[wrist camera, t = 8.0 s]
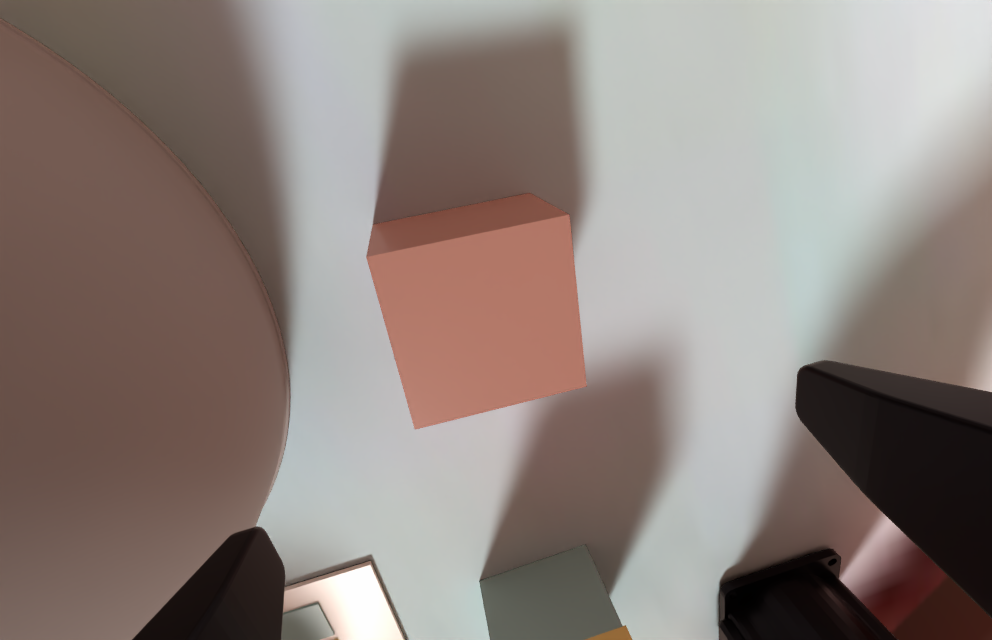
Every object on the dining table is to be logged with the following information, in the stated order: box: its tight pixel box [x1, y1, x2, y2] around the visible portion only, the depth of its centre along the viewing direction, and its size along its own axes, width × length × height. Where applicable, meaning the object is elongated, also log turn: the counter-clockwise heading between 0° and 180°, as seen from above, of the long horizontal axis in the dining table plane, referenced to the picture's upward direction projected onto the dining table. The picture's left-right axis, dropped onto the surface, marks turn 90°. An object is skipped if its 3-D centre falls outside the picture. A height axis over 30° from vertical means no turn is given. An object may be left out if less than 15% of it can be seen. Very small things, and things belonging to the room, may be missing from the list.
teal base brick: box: [479, 544, 622, 640], centre depth 21 cm, size 5×5×4 cm
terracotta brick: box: [367, 193, 587, 429], centre depth 15 cm, size 5×5×4 cm
